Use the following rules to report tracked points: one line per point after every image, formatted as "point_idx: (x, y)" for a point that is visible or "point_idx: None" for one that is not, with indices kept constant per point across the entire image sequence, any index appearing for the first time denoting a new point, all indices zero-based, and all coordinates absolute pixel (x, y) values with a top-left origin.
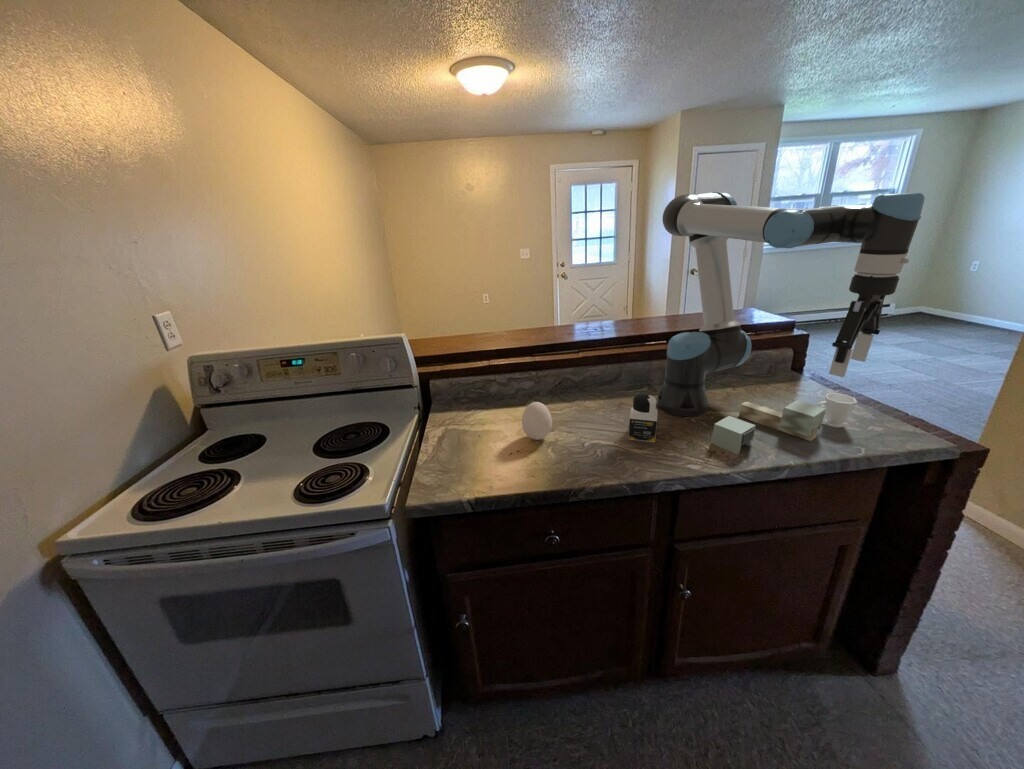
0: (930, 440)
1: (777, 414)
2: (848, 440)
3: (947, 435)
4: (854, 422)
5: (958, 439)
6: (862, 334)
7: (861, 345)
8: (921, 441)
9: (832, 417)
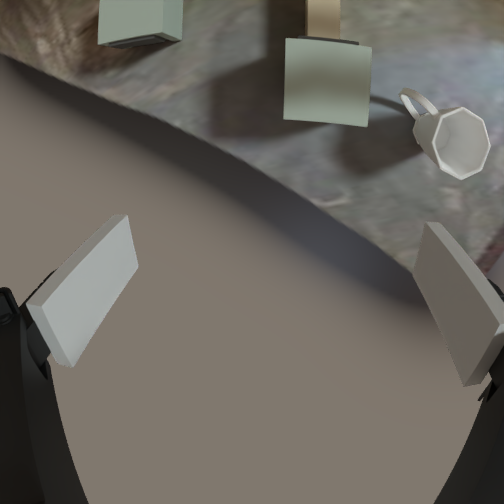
0: None
1: (318, 25)
2: (366, 171)
3: None
4: None
5: None
6: (488, 342)
7: (452, 300)
8: None
9: (418, 130)
